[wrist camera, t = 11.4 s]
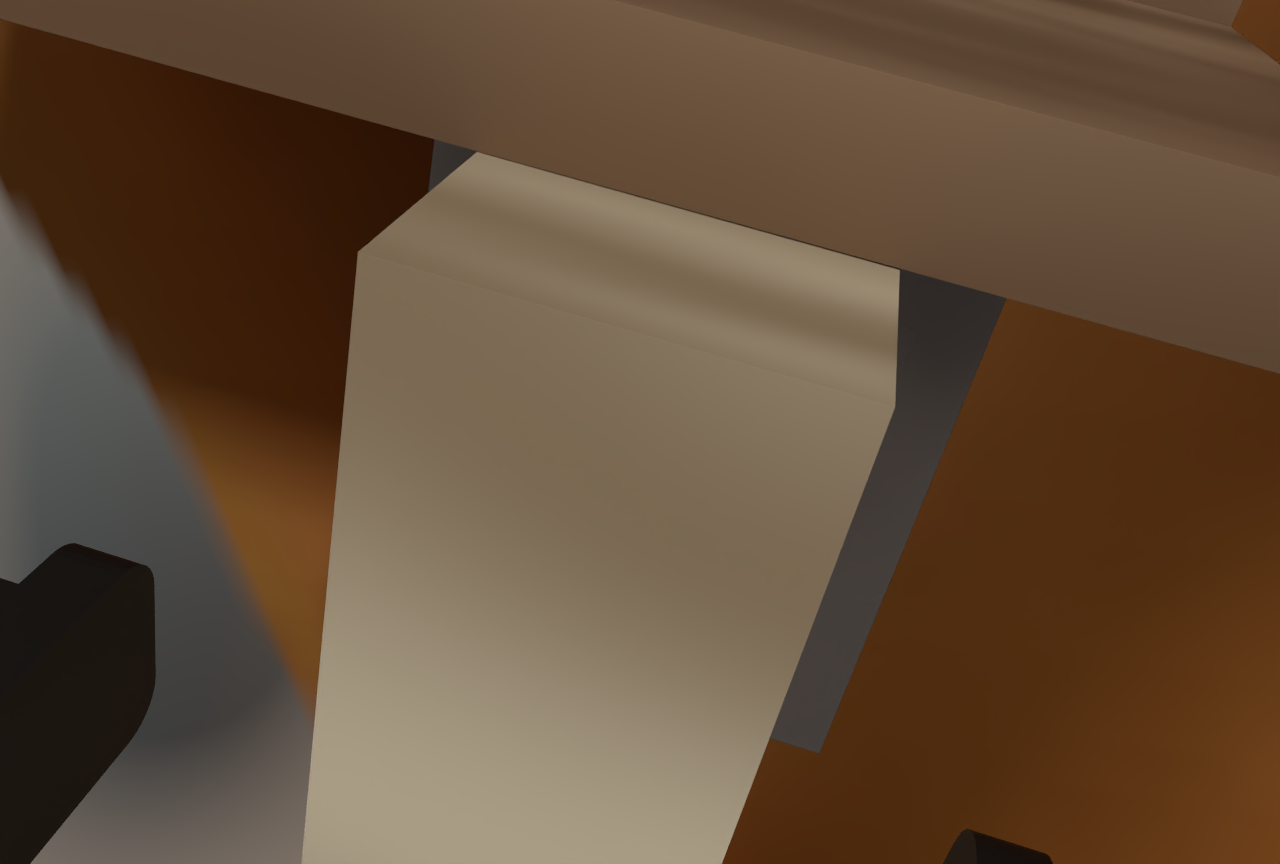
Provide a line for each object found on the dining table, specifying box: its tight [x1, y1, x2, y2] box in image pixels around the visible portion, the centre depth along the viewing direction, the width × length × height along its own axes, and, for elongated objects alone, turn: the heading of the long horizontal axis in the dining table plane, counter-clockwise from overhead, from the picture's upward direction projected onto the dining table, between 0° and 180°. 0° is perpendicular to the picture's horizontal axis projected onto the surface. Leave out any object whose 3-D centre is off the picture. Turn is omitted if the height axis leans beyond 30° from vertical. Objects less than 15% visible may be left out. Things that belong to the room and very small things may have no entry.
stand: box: [428, 139, 1006, 753], centre depth 18 cm, size 9×8×4 cm
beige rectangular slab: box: [302, 152, 900, 864], centre depth 14 cm, size 12×3×11 cm, turn 168°
